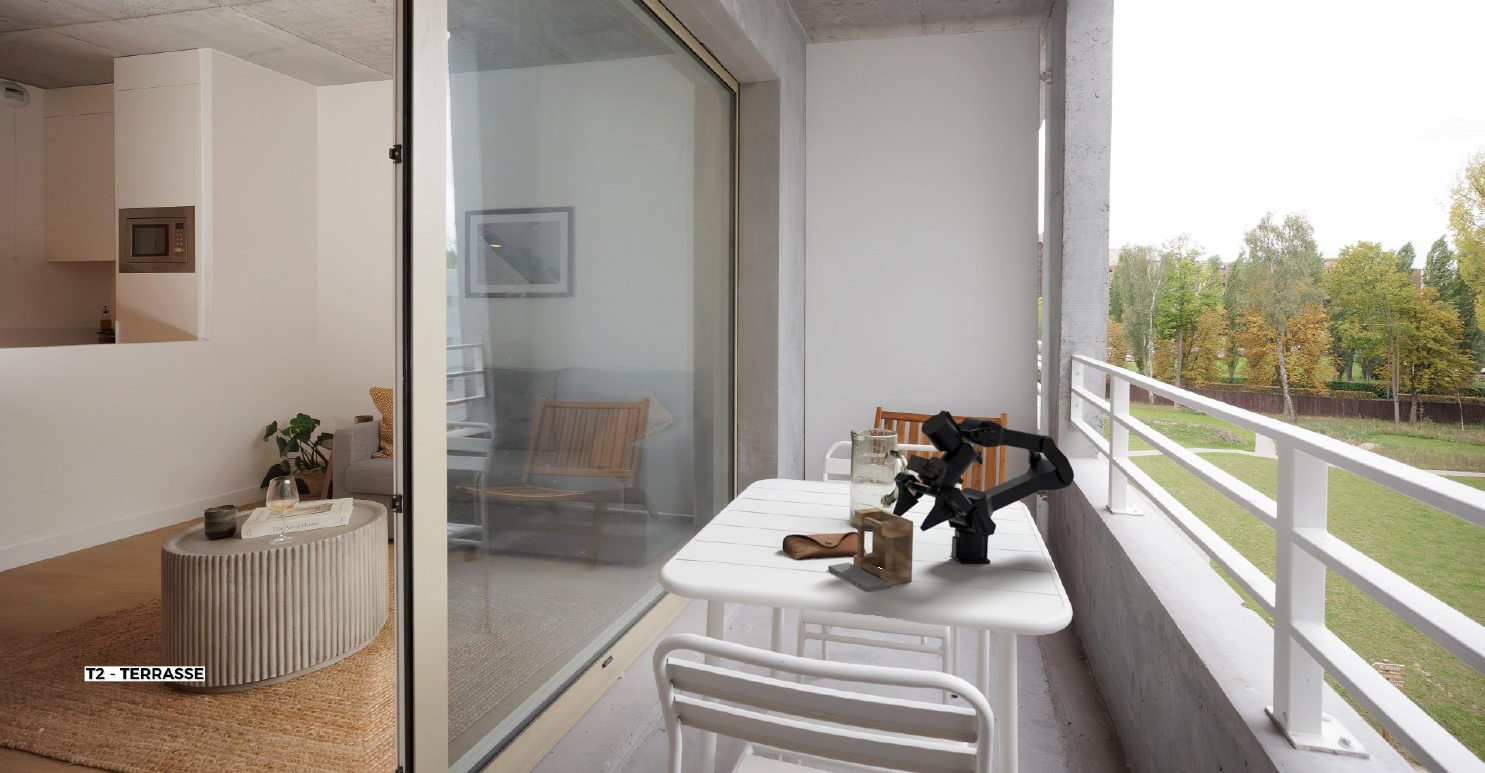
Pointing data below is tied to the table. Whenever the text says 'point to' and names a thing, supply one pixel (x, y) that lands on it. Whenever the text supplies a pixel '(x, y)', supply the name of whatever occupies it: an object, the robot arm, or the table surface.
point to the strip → (859, 576)
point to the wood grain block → (885, 545)
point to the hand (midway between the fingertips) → (907, 523)
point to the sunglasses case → (821, 545)
